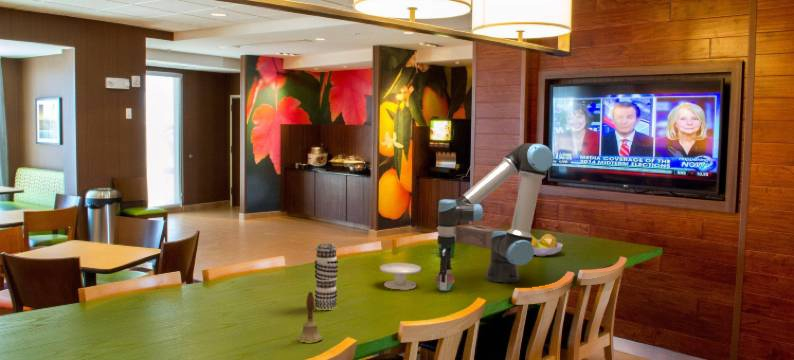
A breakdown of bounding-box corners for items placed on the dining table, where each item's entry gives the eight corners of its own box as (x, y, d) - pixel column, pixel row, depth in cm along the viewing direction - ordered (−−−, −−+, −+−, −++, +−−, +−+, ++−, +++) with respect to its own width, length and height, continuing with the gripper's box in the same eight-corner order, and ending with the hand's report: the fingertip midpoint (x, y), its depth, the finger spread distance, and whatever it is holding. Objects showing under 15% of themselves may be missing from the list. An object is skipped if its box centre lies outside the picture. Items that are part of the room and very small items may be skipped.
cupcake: (438, 292, 283) (439, 265, 282) (432, 287, 292) (433, 261, 290) (457, 291, 286) (458, 264, 285) (450, 287, 294) (451, 260, 293)
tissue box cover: (455, 241, 405) (456, 225, 404) (472, 239, 414) (472, 223, 413) (486, 248, 385) (487, 231, 384) (503, 246, 394) (504, 229, 393)
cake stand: (423, 283, 300) (424, 264, 299) (416, 292, 282) (416, 273, 282) (385, 280, 304) (385, 261, 303) (375, 289, 286) (375, 270, 286)
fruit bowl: (567, 259, 359) (568, 238, 358) (517, 258, 360) (518, 237, 359) (556, 249, 387) (557, 230, 386) (510, 248, 388) (510, 229, 387)
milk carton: (438, 258, 355) (439, 221, 353) (438, 254, 364) (439, 218, 362) (454, 258, 354) (455, 221, 352) (454, 255, 363) (455, 219, 361)
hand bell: (292, 339, 220) (292, 292, 218) (310, 333, 226) (310, 288, 225) (310, 345, 214) (310, 297, 213) (327, 339, 221) (328, 292, 220)
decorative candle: (338, 305, 262) (339, 242, 259) (337, 311, 252) (337, 247, 250) (315, 304, 261) (315, 242, 259) (312, 311, 252) (313, 246, 250)
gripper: (441, 230, 298) (440, 280, 300) (433, 239, 277) (432, 292, 279) (458, 231, 296) (456, 281, 298) (451, 240, 275) (449, 293, 278)
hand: (444, 286), depth 289 cm, fingers closed on cupcake, 8 cm apart
